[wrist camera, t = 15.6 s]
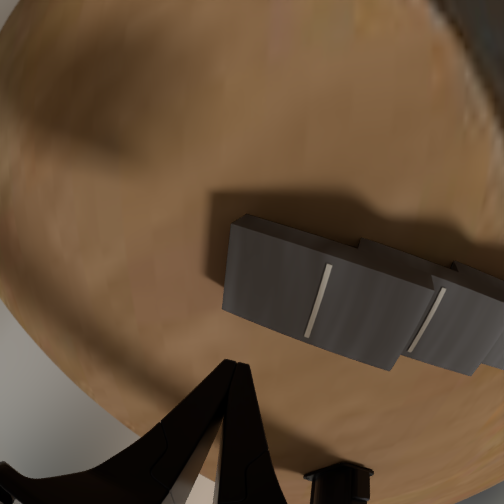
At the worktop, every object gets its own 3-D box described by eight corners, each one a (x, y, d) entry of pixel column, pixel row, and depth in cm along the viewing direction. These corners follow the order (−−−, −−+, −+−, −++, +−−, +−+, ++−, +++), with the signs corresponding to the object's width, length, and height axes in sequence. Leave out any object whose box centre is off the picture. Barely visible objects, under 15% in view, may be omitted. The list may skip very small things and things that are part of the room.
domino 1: (221, 309, 16) (389, 372, 13) (230, 223, 14) (434, 291, 11) (236, 294, 17) (392, 350, 14) (247, 213, 15) (431, 273, 12)
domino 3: (420, 344, 15) (523, 376, 12) (459, 273, 13) (563, 318, 10) (420, 327, 16) (519, 360, 13) (453, 259, 14) (554, 304, 11)
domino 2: (328, 330, 15) (470, 376, 12) (357, 249, 13) (517, 308, 10) (335, 313, 17) (467, 358, 14) (361, 237, 14) (508, 292, 11)
